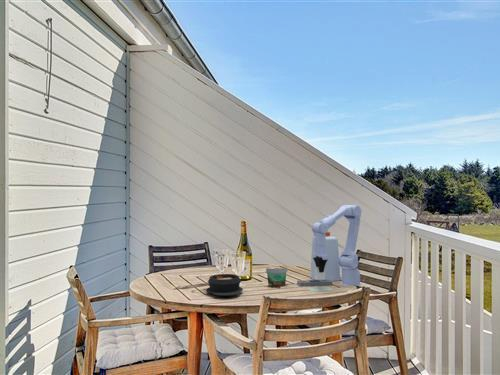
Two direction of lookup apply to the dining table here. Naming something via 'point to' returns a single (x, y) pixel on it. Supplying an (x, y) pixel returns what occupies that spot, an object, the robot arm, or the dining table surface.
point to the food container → (276, 277)
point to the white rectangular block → (319, 274)
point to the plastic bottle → (332, 255)
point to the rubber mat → (320, 288)
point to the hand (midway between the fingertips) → (320, 271)
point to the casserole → (224, 285)
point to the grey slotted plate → (314, 282)
